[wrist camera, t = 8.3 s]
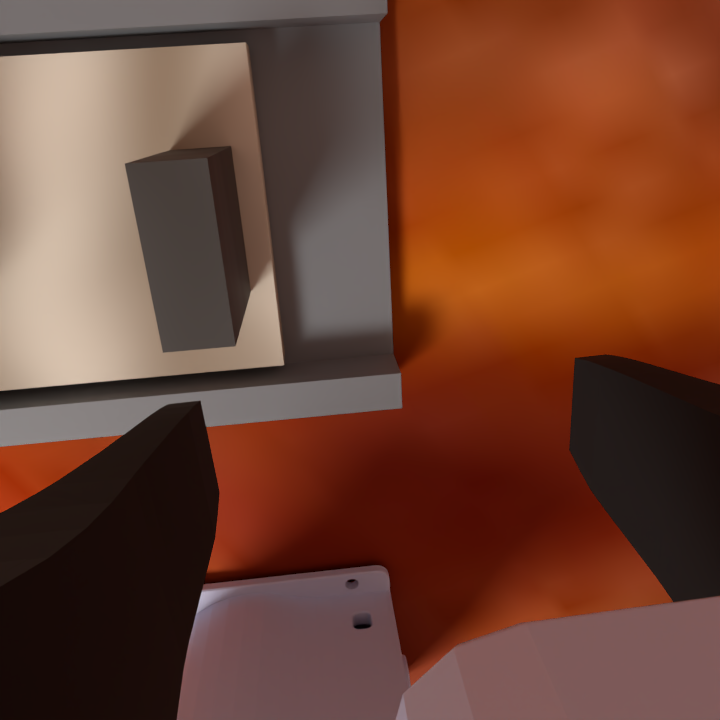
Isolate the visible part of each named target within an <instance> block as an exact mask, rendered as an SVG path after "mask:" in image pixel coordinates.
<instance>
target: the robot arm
mask: <svg viewBox="0 0 720 720" xmlns="http://www.w3.org/2000/svg"><path fill="white" fill-rule="evenodd" d="M569 450H570V452H571V454H572V456H573V458H574V460H575V462H576V464H577V466H578V468H579V470H580V472H581V473H582V475H583V477H584V479H585V480H586V482H587V484H588V486H589V488H590V489H591V491H592V492H593V494H594V495H595V496H596V498H597V499H598V501H599V502H600V503H601V505H602V506H603V507H604V509H605V510H606V511H607V513H608V514H609V515H610V517H611V518H612V519H613V521H614V522H615V523H616V525H617V526H618V527H619V529H620V530H621V531H622V533H623V534H624V535H625V537H626V538H627V539H628V541H629V542H630V543H631V544H632V546H633V547H634V548H635V550H636V551H637V552H638V554H639V555H640V556H641V558H642V559H643V560H644V562H645V563H646V564H647V566H648V567H649V568H650V569H651V571H652V572H653V573H654V575H655V576H656V577H657V579H658V580H659V582H660V583H661V584H662V586H663V587H664V589H665V590H666V592H667V593H668V595H669V596H670V597H671V599H672V600H673V602H671V603H663V604H656V605H649V606H641V607H634V608H627V609H619V610H612V611H605V612H597V613H590V614H583V615H575V616H568V617H561V618H553V619H546V620H539V621H531V622H524V623H519V624H516V625H513V626H510V627H507V628H504V629H501V630H499V631H496V632H493V633H490V634H487V635H484V636H481V637H478V638H475V639H472V640H469V641H466V642H463V643H460V644H457V645H456V646H455V647H454V648H453V649H452V650H451V651H450V652H449V653H447V654H446V655H445V656H444V657H443V658H442V659H441V660H440V661H439V662H437V663H436V664H435V665H434V666H433V667H432V668H431V669H430V670H429V671H428V672H426V673H425V674H424V675H423V676H422V677H421V678H420V679H419V680H418V681H416V682H415V683H414V684H413V685H412V686H411V685H410V677H409V670H408V664H407V660H406V656H405V655H404V654H403V655H402V653H401V647H400V642H399V636H398V631H397V626H396V620H395V615H394V609H393V604H392V599H391V593H390V579H389V574H388V570H387V569H386V568H385V567H383V566H380V565H373V566H364V567H355V568H346V569H337V570H328V571H319V572H310V573H301V574H292V575H283V576H274V577H265V578H256V579H247V580H238V581H229V582H220V583H211V584H204V581H205V577H206V573H207V569H208V565H209V560H210V556H211V552H212V548H213V544H214V540H215V533H216V524H217V515H218V503H219V488H218V483H217V478H216V473H215V468H214V463H213V459H212V454H211V449H210V444H209V439H208V434H207V429H206V425H205V420H204V415H203V410H202V405H201V401H192V402H183V403H174V404H167V405H165V406H164V407H162V408H160V409H158V410H157V411H156V412H154V413H153V414H151V415H150V416H148V417H147V418H146V419H144V420H143V421H142V422H140V423H139V424H138V425H136V426H135V427H134V428H132V429H131V430H130V431H128V432H127V433H126V434H124V435H123V436H121V437H120V438H119V439H117V440H116V441H115V442H113V443H112V444H111V445H109V446H108V447H107V448H105V449H104V450H103V451H101V452H100V453H98V454H97V455H95V456H94V457H92V458H91V459H89V460H88V461H86V462H85V463H83V464H82V465H80V466H79V467H78V468H76V469H75V470H73V471H72V472H70V473H69V474H67V475H66V476H64V477H63V478H61V479H60V480H58V481H56V482H55V483H53V484H52V485H50V486H48V487H47V488H45V489H43V490H42V491H40V492H38V493H37V494H35V495H33V496H31V497H29V498H28V499H26V500H24V501H22V502H20V503H18V504H17V505H15V506H13V507H11V508H9V509H8V510H6V511H4V512H2V513H0V720H720V385H719V384H715V383H712V382H708V381H705V380H701V379H698V378H695V377H691V376H688V375H684V374H681V373H678V372H674V371H671V370H668V369H664V368H661V367H657V366H654V365H651V364H647V363H644V362H640V361H636V360H632V359H628V358H624V357H619V356H613V355H598V356H589V357H580V358H575V365H574V382H573V399H572V415H571V432H570V448H569ZM350 579H355V580H356V581H354V582H347V581H348V580H350Z"/></svg>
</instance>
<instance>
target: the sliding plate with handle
mask: <svg viewBox="0 0 720 720" xmlns="http://www.w3.org/2000/svg"><path fill="white" fill-rule="evenodd" d="M284 359H285V349H284V341H283V332H282V324H281V315H280V307H279V298H278V290H277V281H276V273H275V264H274V256H273V247H272V239H271V230H270V222H269V213H268V205H267V196H266V188H265V179H264V171H263V162H262V154H261V145H260V137H259V128H258V120H257V111H256V103H255V94H254V86H253V77H252V69H251V60H250V52H249V46H248V45H247V43H246V42H243V43H226V44H209V45H192V46H175V47H157V48H140V49H123V50H106V51H89V52H72V53H55V54H37V55H20V56H3V57H0V391H5V390H16V389H27V388H38V387H49V386H60V385H71V384H82V383H93V382H104V381H115V380H126V379H137V378H148V377H159V376H171V375H182V374H193V373H204V372H215V371H226V370H237V369H248V368H259V367H270V366H281V365H284Z"/></svg>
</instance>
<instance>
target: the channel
mask: <svg viewBox="0 0 720 720" xmlns="http://www.w3.org/2000/svg"><path fill="white" fill-rule="evenodd" d="M387 13H388V12H387V0H0V57H3V56H20V55H37V54H55V53H72V52H89V51H106V50H123V49H140V48H157V47H175V46H192V45H209V44H226V43H243V42H246V43H247V45H248V46H249V52H250V60H251V69H252V77H253V86H254V94H255V103H256V111H257V120H258V128H259V137H260V145H261V154H262V162H263V171H264V179H265V188H266V196H267V205H268V213H269V222H270V230H271V239H272V247H273V256H274V264H275V273H276V281H277V290H278V298H279V307H280V315H281V324H282V332H283V341H284V349H285V359H284V365H281V366H270V367H259V368H248V369H237V370H226V371H215V372H204V373H193V374H182V375H171V376H159V377H148V378H137V379H126V380H115V381H104V382H93V383H82V384H71V385H60V386H49V387H38V388H27V389H16V390H5V391H0V447H2V446H12V445H22V444H33V443H43V442H54V441H64V440H75V439H85V438H96V437H106V436H116V435H124V434H126V433H127V432H128V431H130V430H131V429H132V428H134V427H135V426H136V425H138V424H139V423H140V422H142V421H143V420H144V419H146V418H147V417H148V416H150V415H151V414H153V413H154V412H156V411H157V410H158V409H160V408H162V407H164V406H165V405H167V404H174V403H183V402H192V401H201V405H202V410H203V415H204V420H205V425H206V427H210V426H221V425H231V424H242V423H252V422H263V421H273V420H284V419H294V418H304V417H315V416H325V415H336V414H346V413H357V412H367V411H378V410H388V409H398V408H402V390H401V372H400V370H399V367H398V364H397V362H396V359H395V356H394V354H393V330H392V306H391V282H390V258H389V234H388V210H387V186H386V162H385V138H384V114H383V90H382V66H381V42H380V21H381V20H382V19H383V18H384V17H385V15H386V14H387Z"/></svg>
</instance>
